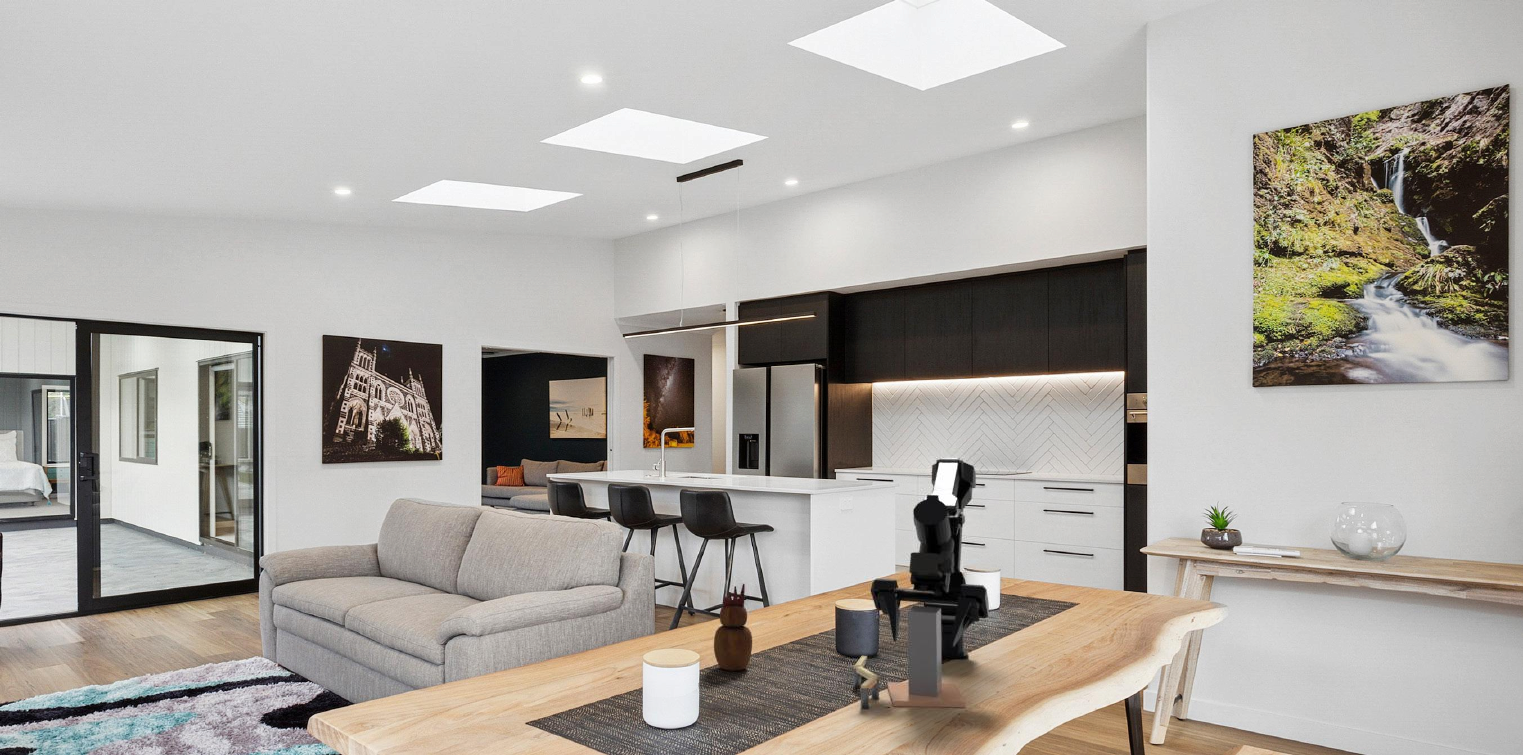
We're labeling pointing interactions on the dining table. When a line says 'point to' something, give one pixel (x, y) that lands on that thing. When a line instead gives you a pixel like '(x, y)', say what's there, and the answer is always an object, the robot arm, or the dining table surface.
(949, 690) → the terracotta tile
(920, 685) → the gray pillar
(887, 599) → the robot arm
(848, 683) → the dining table surface
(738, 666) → the wooden figurine
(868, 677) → the bent wire
